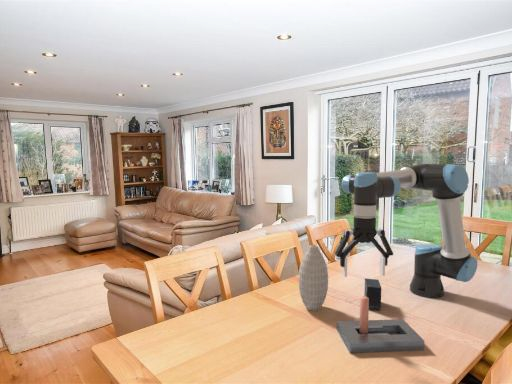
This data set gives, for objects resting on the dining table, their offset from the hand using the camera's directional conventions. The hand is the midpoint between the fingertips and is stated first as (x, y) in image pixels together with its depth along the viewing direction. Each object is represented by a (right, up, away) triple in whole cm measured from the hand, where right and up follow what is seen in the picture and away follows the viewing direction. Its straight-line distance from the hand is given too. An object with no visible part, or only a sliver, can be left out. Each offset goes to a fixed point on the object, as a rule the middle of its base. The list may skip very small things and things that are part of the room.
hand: (363, 275), depth 126 cm
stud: (+1, -24, +3) cm, 25 cm away
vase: (-13, -22, +30) cm, 39 cm away
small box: (+14, -21, +32) cm, 41 cm away
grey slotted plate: (+6, -24, +3) cm, 25 cm away
